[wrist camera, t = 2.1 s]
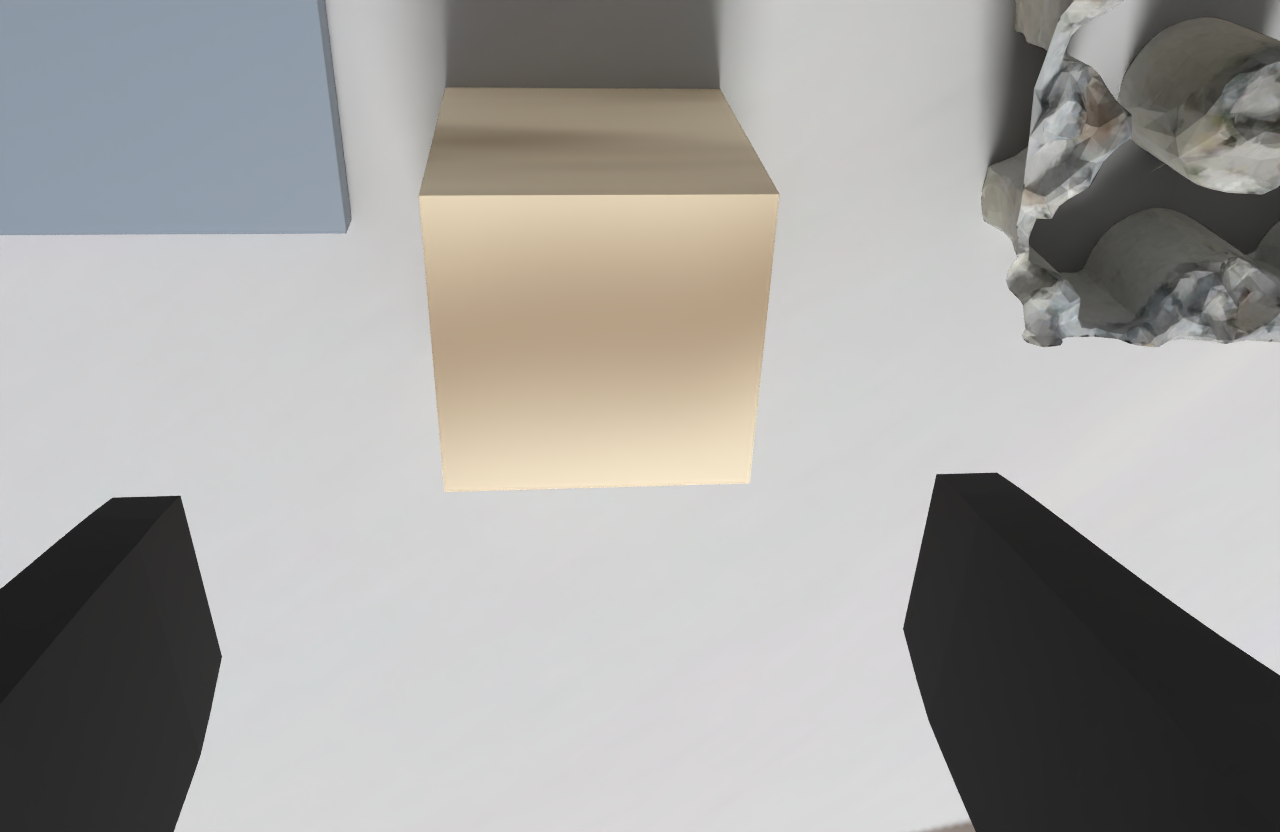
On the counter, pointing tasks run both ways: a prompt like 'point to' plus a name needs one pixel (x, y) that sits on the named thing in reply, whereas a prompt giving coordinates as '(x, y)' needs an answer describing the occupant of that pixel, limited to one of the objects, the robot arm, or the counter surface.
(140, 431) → the counter surface
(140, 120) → the board
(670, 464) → the oak block
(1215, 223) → the counter surface
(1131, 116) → the egg carton
